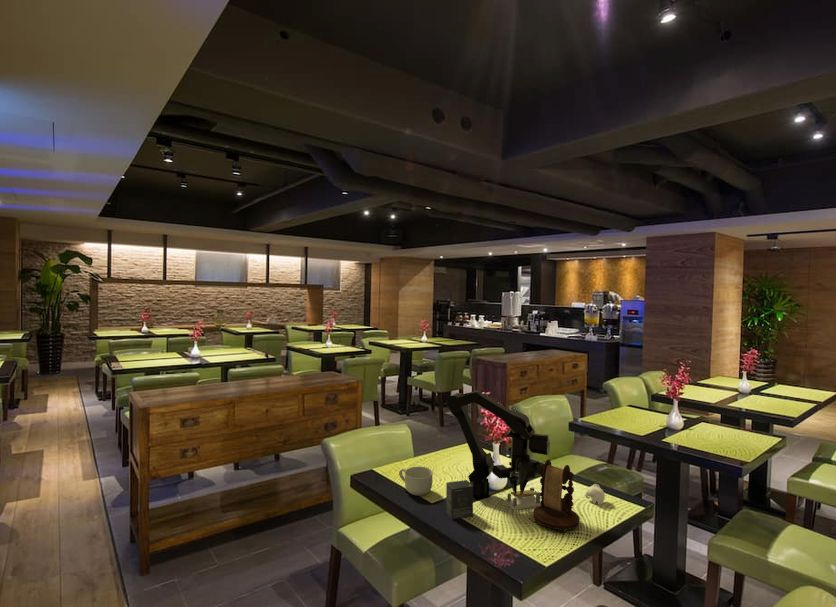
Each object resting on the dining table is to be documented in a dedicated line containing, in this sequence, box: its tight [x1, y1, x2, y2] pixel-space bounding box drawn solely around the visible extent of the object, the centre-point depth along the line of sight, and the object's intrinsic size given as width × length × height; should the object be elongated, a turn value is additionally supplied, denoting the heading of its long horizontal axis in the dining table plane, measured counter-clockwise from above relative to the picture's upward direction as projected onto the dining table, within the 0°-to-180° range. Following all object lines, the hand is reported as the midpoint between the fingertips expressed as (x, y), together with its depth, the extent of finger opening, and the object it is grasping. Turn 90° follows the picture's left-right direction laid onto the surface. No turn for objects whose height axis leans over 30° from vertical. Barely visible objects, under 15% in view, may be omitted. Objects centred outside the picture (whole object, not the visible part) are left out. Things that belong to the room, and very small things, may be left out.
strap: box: [510, 489, 537, 498], centre depth 162 cm, size 10×3×1 cm, turn 108°
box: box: [445, 479, 474, 521], centre depth 153 cm, size 8×6×11 cm
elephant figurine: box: [584, 483, 608, 506], centre depth 164 cm, size 7×8×6 cm
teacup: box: [398, 465, 434, 497], centre depth 171 cm, size 14×11×8 cm
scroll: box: [532, 459, 581, 534], centre depth 149 cm, size 15×15×20 cm
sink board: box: [504, 487, 541, 511], centre depth 162 cm, size 12×7×4 cm, turn 108°
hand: (518, 493), depth 162 cm, fingers closed on strap, 2 cm apart
